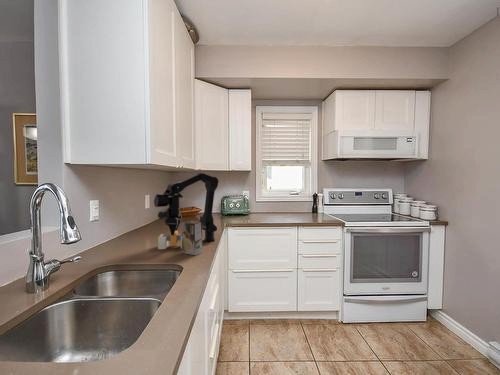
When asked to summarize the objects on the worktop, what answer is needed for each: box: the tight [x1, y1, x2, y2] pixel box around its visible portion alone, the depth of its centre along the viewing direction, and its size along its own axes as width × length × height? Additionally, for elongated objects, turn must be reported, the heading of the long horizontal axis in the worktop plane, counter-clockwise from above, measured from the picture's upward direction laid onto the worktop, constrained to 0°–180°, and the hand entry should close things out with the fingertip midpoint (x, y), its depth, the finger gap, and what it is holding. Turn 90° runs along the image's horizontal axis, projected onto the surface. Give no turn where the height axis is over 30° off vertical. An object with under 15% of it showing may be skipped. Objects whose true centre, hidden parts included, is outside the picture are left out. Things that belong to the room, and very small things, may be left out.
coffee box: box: [181, 220, 203, 256], centre depth 134 cm, size 9×6×16 cm
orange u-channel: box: [169, 230, 179, 247], centre depth 144 cm, size 7×3×7 cm, turn 7°
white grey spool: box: [157, 233, 182, 250], centre depth 144 cm, size 16×7×7 cm, turn 97°
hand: (174, 233), depth 144 cm, fingers open, 9 cm apart
